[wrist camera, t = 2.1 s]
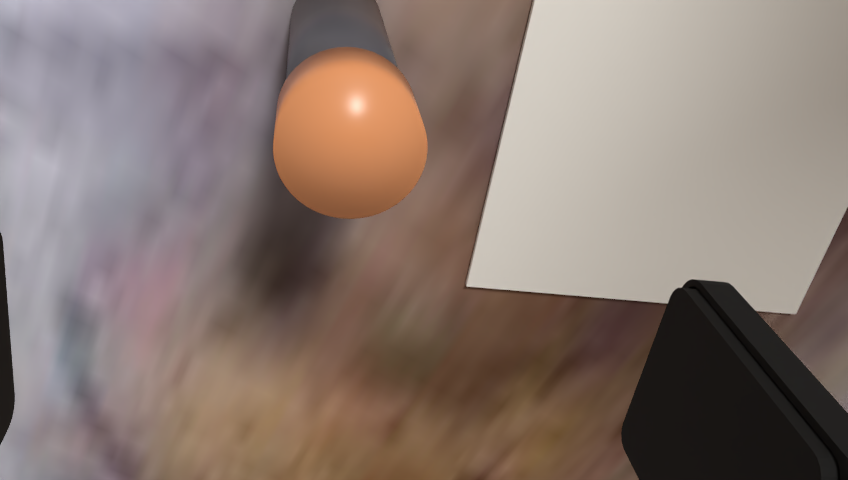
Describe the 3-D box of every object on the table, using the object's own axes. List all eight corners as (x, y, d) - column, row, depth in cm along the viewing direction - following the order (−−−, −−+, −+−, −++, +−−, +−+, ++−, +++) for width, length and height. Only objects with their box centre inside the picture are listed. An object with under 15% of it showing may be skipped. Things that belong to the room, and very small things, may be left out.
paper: (560, -115, 23) (562, -114, 23) (960, -39, 26) (964, -37, 26) (465, 283, 30) (466, 286, 30) (793, 311, 33) (795, 314, 33)
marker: (290, -36, 24) (280, 65, 15) (393, -20, 24) (440, 87, 16) (281, 65, 25) (266, 210, 16) (378, 78, 26) (413, 225, 17)
